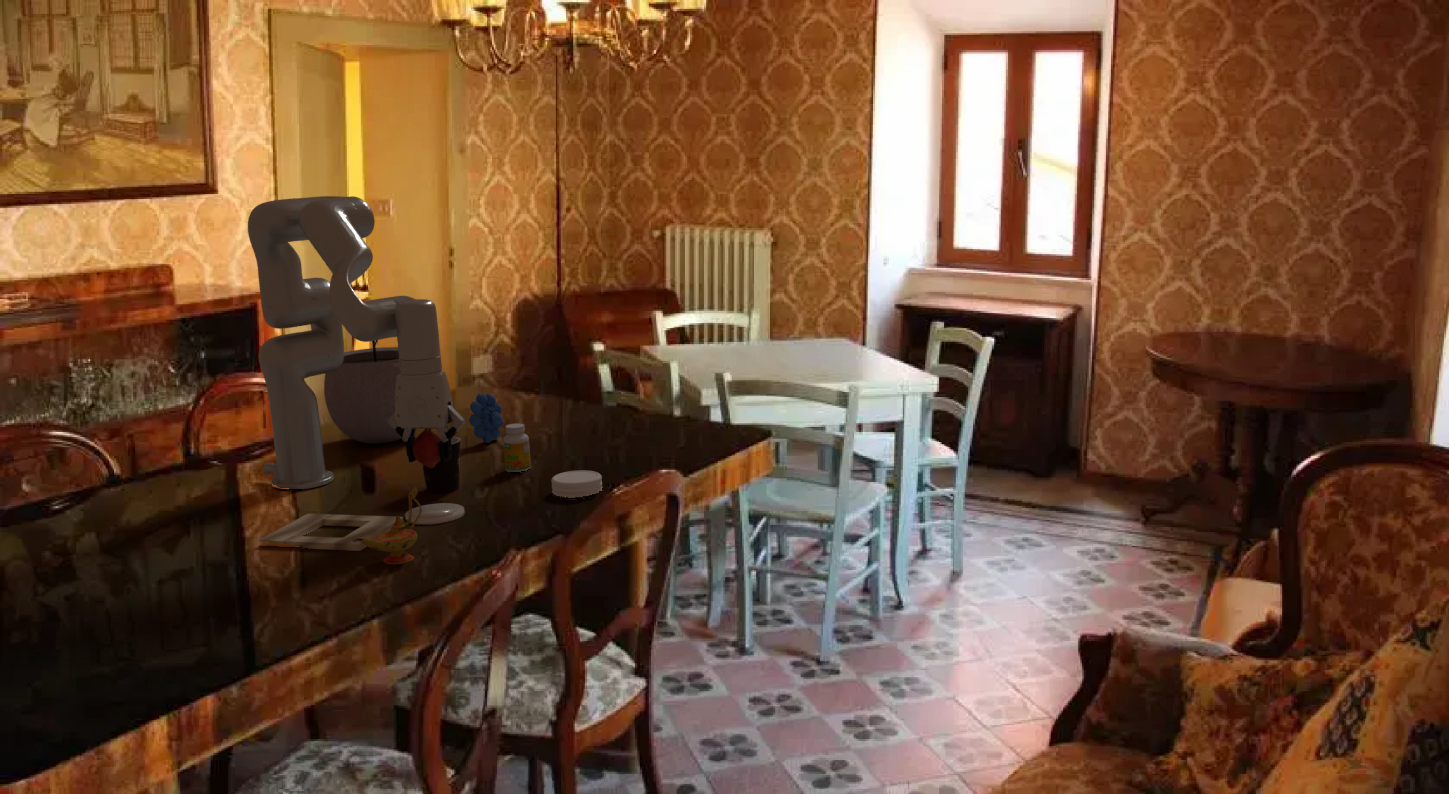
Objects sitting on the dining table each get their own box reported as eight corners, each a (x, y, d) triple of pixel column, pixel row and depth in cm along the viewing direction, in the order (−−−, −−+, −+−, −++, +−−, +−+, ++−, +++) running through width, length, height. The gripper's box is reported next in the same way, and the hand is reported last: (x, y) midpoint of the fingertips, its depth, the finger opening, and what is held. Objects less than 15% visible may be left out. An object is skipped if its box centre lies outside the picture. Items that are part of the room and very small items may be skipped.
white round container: (613, 491, 261) (612, 474, 261) (575, 503, 254) (573, 486, 254) (580, 483, 268) (578, 467, 267) (541, 495, 261) (540, 478, 260)
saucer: (394, 523, 246) (394, 518, 246) (422, 506, 256) (421, 501, 256) (448, 525, 243) (448, 520, 243) (474, 508, 253) (473, 503, 253)
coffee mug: (454, 495, 263) (450, 446, 261) (414, 494, 265) (409, 446, 263) (476, 479, 274) (472, 432, 272) (438, 479, 276) (433, 432, 274)
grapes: (488, 450, 298) (484, 398, 296) (464, 448, 301) (460, 397, 299) (518, 438, 309) (514, 388, 306) (494, 436, 311) (490, 386, 309)
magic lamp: (341, 578, 217) (334, 514, 215) (408, 544, 233) (402, 484, 231) (374, 582, 214) (368, 517, 212) (440, 547, 230) (435, 487, 228)
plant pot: (450, 429, 321) (439, 307, 314) (406, 454, 298) (393, 323, 291) (361, 428, 326) (348, 308, 320) (310, 453, 303) (295, 324, 297)
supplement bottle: (500, 472, 279) (497, 428, 277) (514, 465, 284) (510, 422, 281) (522, 474, 277) (519, 429, 275) (535, 467, 282) (532, 423, 279)
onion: (419, 473, 244) (415, 431, 242) (411, 467, 249) (407, 426, 247) (450, 468, 246) (446, 427, 245) (441, 462, 251) (437, 421, 250)
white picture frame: (259, 546, 236) (259, 540, 236) (308, 519, 251) (307, 513, 251) (360, 550, 231) (359, 544, 231) (403, 523, 246) (402, 516, 246)
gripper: (368, 370, 242) (379, 465, 246) (454, 370, 238) (463, 466, 242) (388, 362, 249) (398, 455, 253) (472, 362, 245) (480, 456, 249)
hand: (430, 459), depth 247 cm, fingers closed on onion, 5 cm apart
